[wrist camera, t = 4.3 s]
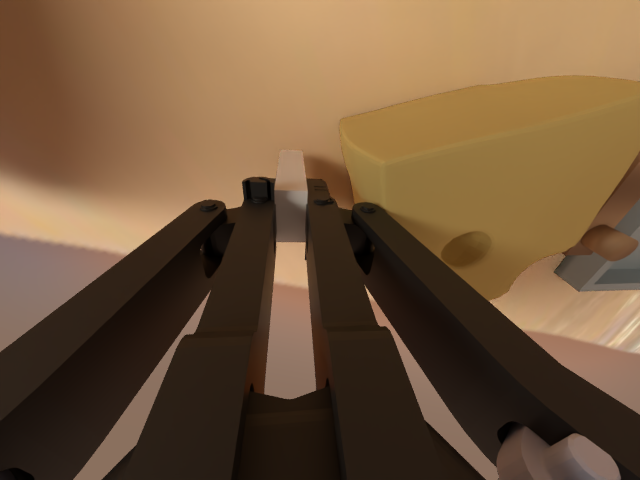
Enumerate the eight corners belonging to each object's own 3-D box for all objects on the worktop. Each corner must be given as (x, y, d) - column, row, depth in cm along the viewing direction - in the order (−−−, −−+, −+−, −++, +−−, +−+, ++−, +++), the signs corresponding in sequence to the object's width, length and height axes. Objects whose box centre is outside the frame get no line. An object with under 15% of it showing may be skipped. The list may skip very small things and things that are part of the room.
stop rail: (615, 80, 17) (756, 86, 12) (645, 82, 17) (796, 89, 12) (524, 227, 24) (589, 271, 19) (546, 227, 24) (616, 271, 19)
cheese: (467, 208, 22) (570, 291, 14) (350, 235, 23) (382, 329, 14) (489, 71, 16) (691, 75, 8) (329, 112, 17) (364, 155, 8)
